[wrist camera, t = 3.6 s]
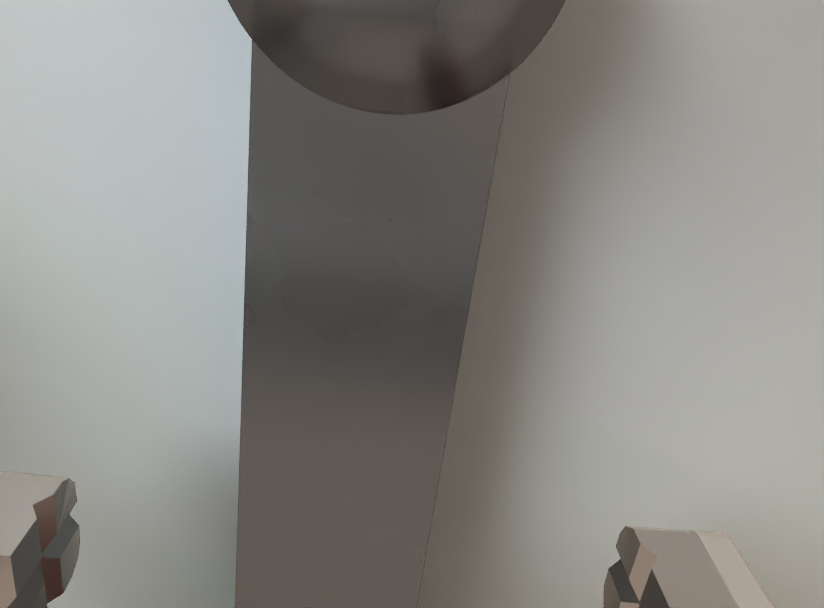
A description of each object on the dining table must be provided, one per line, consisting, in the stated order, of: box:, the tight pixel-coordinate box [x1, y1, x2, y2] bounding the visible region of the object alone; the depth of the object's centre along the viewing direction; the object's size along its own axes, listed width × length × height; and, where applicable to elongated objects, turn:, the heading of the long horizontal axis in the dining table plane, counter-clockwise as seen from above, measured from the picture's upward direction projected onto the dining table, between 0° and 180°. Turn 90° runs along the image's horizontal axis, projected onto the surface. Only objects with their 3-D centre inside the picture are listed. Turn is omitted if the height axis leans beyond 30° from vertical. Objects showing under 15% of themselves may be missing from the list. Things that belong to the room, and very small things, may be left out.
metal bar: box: [228, 0, 565, 608], centre depth 13 cm, size 20×4×3 cm, turn 173°
